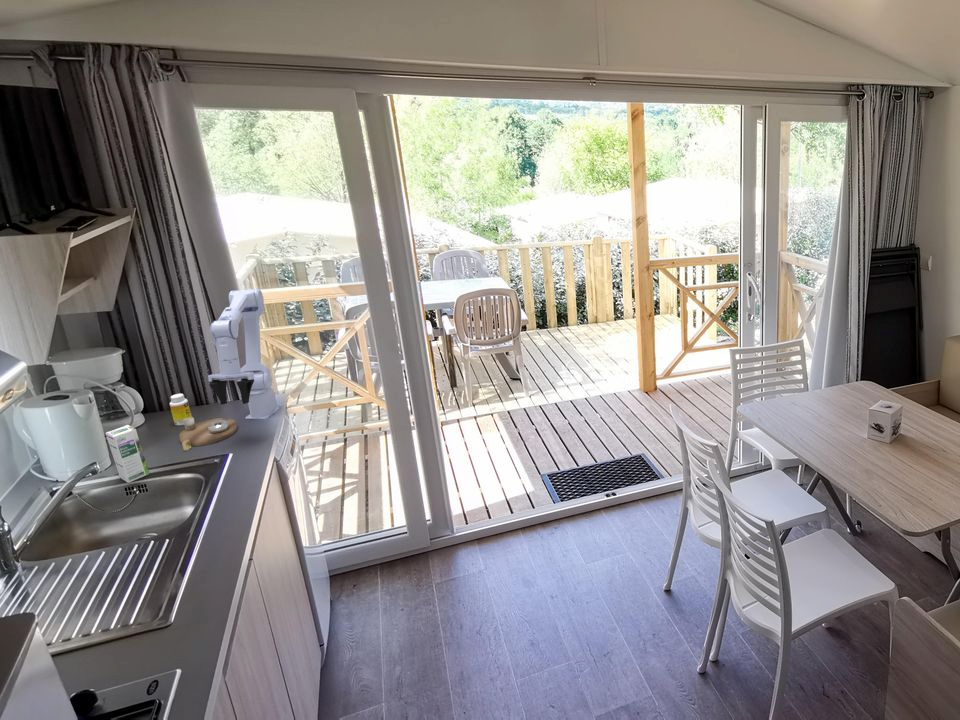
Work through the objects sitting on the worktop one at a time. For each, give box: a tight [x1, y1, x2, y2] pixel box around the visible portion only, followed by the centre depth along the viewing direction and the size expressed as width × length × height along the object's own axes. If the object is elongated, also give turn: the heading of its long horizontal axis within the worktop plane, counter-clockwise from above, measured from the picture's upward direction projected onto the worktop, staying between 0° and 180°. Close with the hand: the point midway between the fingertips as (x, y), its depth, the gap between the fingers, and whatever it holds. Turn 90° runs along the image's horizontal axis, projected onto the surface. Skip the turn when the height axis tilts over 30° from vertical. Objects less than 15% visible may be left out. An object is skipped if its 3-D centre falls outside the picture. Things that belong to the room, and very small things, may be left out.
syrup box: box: [105, 424, 150, 484], centre depth 150 cm, size 6×6×14 cm
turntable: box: [178, 416, 238, 447], centre depth 175 cm, size 17×17×5 cm
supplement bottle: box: [169, 393, 193, 426], centre depth 185 cm, size 6×6×10 cm
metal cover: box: [208, 420, 229, 434], centre depth 174 cm, size 6×6×2 cm
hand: (234, 403), depth 165 cm, fingers open, 7 cm apart
